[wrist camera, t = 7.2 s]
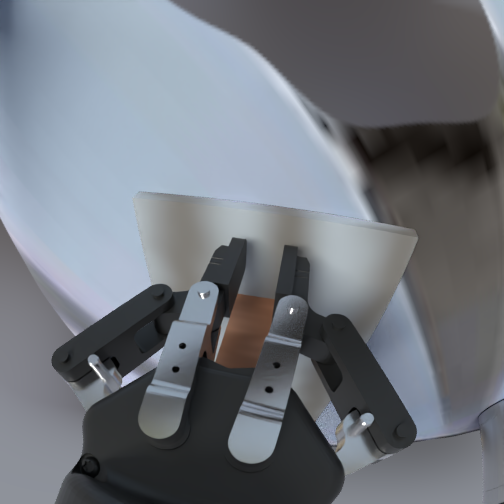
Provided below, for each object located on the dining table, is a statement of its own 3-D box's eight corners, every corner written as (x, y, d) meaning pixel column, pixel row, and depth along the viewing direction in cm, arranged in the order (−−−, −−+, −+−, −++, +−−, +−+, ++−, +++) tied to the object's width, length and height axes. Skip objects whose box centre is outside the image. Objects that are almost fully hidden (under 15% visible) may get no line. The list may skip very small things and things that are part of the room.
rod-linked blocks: (303, 303, 18) (293, 389, 13) (275, 413, 30) (266, 457, 25) (211, 289, 19) (179, 366, 14) (226, 404, 31) (213, 447, 26)
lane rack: (414, 229, 14) (431, 267, 11) (299, 437, 38) (296, 456, 35) (139, 191, 16) (108, 220, 13) (201, 419, 40) (195, 437, 37)
